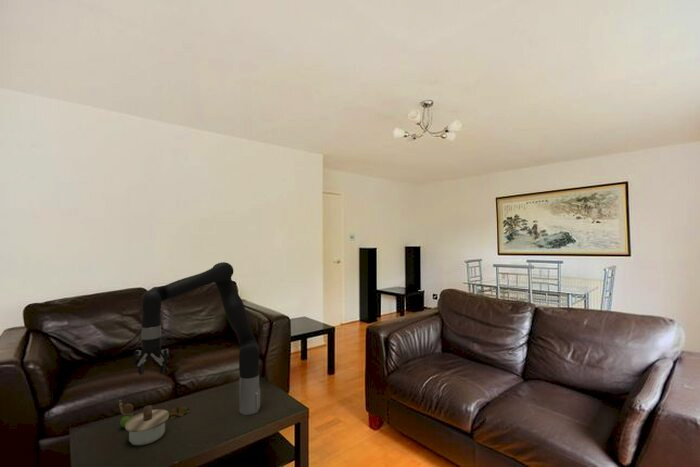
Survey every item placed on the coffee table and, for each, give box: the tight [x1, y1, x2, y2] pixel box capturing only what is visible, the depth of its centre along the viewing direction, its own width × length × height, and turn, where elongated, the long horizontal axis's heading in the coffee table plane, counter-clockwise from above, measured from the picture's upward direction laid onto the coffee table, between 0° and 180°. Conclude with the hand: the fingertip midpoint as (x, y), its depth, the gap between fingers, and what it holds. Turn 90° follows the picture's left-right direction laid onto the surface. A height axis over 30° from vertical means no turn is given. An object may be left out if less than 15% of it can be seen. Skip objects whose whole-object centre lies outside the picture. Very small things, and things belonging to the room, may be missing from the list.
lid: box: [124, 404, 170, 432], centre depth 140 cm, size 16×16×6 cm
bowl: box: [128, 422, 166, 446], centre depth 140 cm, size 13×13×6 cm
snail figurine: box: [118, 399, 134, 429], centre depth 148 cm, size 5×6×12 cm
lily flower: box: [167, 402, 191, 420], centre depth 160 cm, size 12×12×5 cm
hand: (151, 373), depth 142 cm, fingers open, 8 cm apart
